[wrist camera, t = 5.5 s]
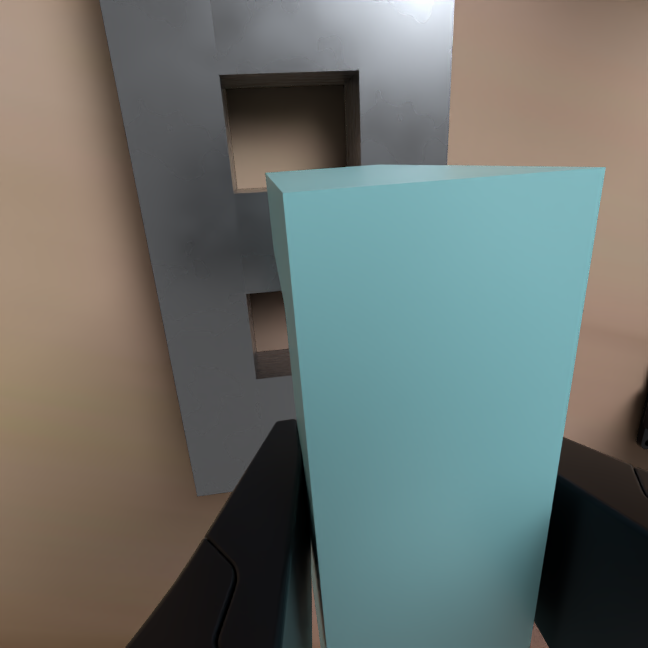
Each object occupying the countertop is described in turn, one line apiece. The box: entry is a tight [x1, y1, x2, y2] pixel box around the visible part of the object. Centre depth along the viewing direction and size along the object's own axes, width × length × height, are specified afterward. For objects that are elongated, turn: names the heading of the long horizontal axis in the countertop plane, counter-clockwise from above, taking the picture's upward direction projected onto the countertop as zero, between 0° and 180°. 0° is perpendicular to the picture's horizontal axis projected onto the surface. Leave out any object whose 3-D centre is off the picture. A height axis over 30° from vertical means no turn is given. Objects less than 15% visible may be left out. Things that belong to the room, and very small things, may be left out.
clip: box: [265, 165, 606, 648], centre depth 9 cm, size 3×10×8 cm, turn 4°
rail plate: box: [99, 0, 455, 496], centre depth 19 cm, size 12×24×3 cm, turn 3°
